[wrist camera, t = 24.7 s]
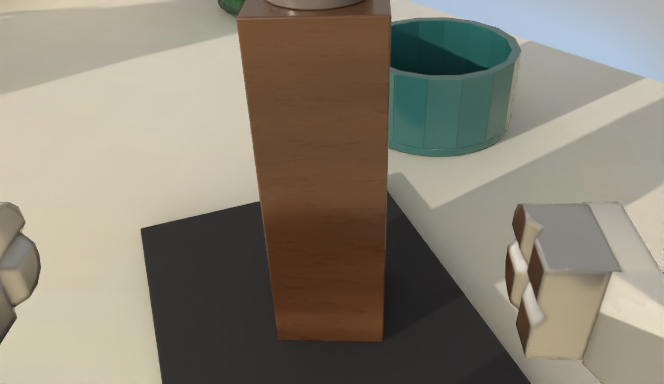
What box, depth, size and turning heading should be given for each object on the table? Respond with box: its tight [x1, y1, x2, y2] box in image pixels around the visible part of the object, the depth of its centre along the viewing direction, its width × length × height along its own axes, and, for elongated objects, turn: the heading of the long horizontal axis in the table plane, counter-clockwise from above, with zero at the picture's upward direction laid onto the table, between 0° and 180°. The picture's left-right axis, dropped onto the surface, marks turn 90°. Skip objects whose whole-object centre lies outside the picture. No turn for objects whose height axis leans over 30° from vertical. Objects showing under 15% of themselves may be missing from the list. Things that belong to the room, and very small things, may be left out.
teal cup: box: [388, 18, 521, 156], centre depth 41 cm, size 11×11×6 cm
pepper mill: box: [236, 0, 391, 342], centre depth 23 cm, size 5×5×16 cm
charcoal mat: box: [141, 191, 531, 384], centre depth 27 cm, size 20×14×1 cm
